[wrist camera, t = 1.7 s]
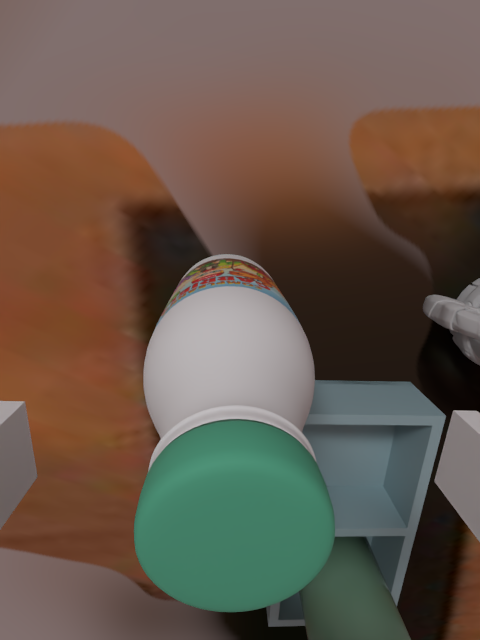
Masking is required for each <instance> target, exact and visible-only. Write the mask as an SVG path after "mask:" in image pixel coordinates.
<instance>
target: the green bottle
mask: <svg viewBox="0 0 480 640" xmlns="http://www.w3.org/2000/svg"><path fill="white" fill-rule="evenodd" d="M299 596H300V601H301V606H302V611H303V616H304V621H305V626H306V631H307V636H308V640H411V639H410V637H409V634H408V632H407V630H406V627H405V625H404V623H403V620H402V618H401V616H400V613H399V611H398V609H397V607H396V604H395V602H394V600H393V597H392V595H391V593H390V590H389V588H388V586H387V583H386V581H385V579H384V576H383V574H382V572H381V569H380V567H379V565H378V563H377V560H376V558H375V556H374V553H373V551H372V549H371V546H370V544H369V542H368V539H367V537H366V536H346V537H335V539H334V544H333V548H332V551H331V554H330V556H329V558H328V560H327V562H326V564H325V565H324V567H323V568H322V570H321V571H320V572H319V574H318V575H317V576H316V577H315V578H314V579H313V580H312V581H311V582H310V583H309V584H308V585H306V586H305V587H304V588H303V589H301V590H300V591H299Z"/></svg>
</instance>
